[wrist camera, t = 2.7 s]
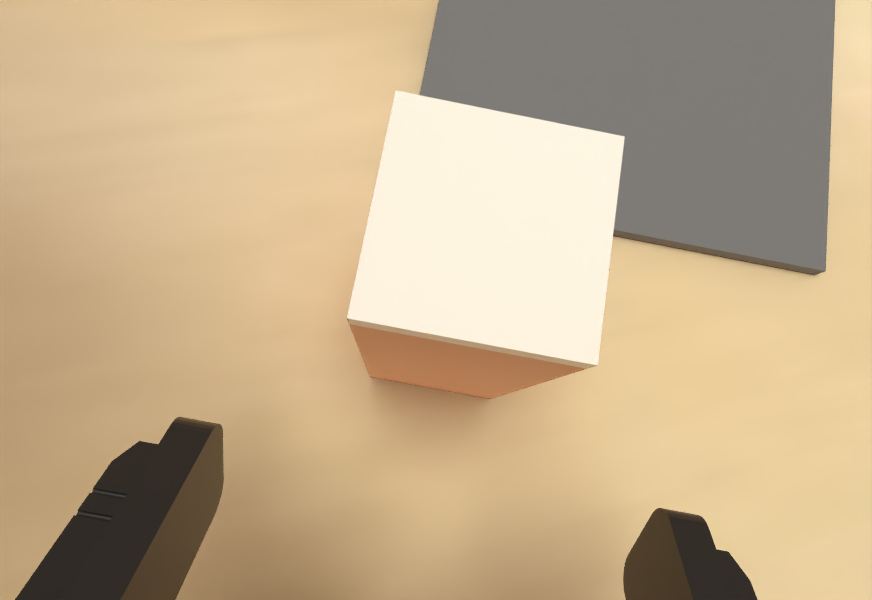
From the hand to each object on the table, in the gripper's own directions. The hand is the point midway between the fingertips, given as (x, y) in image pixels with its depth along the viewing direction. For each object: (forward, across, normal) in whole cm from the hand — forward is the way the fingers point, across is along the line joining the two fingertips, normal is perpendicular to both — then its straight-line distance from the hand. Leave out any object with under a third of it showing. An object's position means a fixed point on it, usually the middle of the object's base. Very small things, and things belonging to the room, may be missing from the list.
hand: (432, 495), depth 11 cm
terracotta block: (+11, 0, +4) cm, 12 cm away
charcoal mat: (+21, -6, -6) cm, 23 cm away
